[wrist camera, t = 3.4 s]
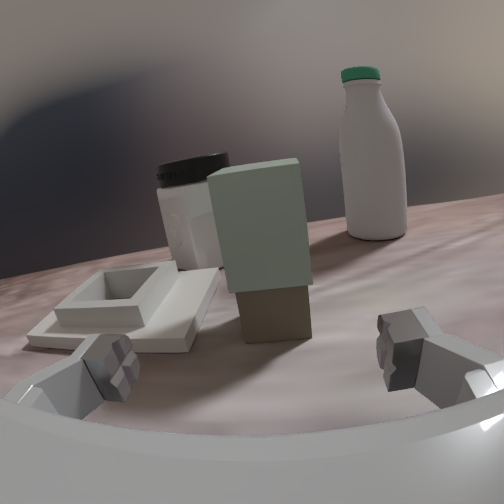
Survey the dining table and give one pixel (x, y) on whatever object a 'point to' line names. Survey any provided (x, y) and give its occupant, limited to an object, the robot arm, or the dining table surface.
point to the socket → (133, 308)
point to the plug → (265, 247)
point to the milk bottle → (371, 160)
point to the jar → (190, 210)
